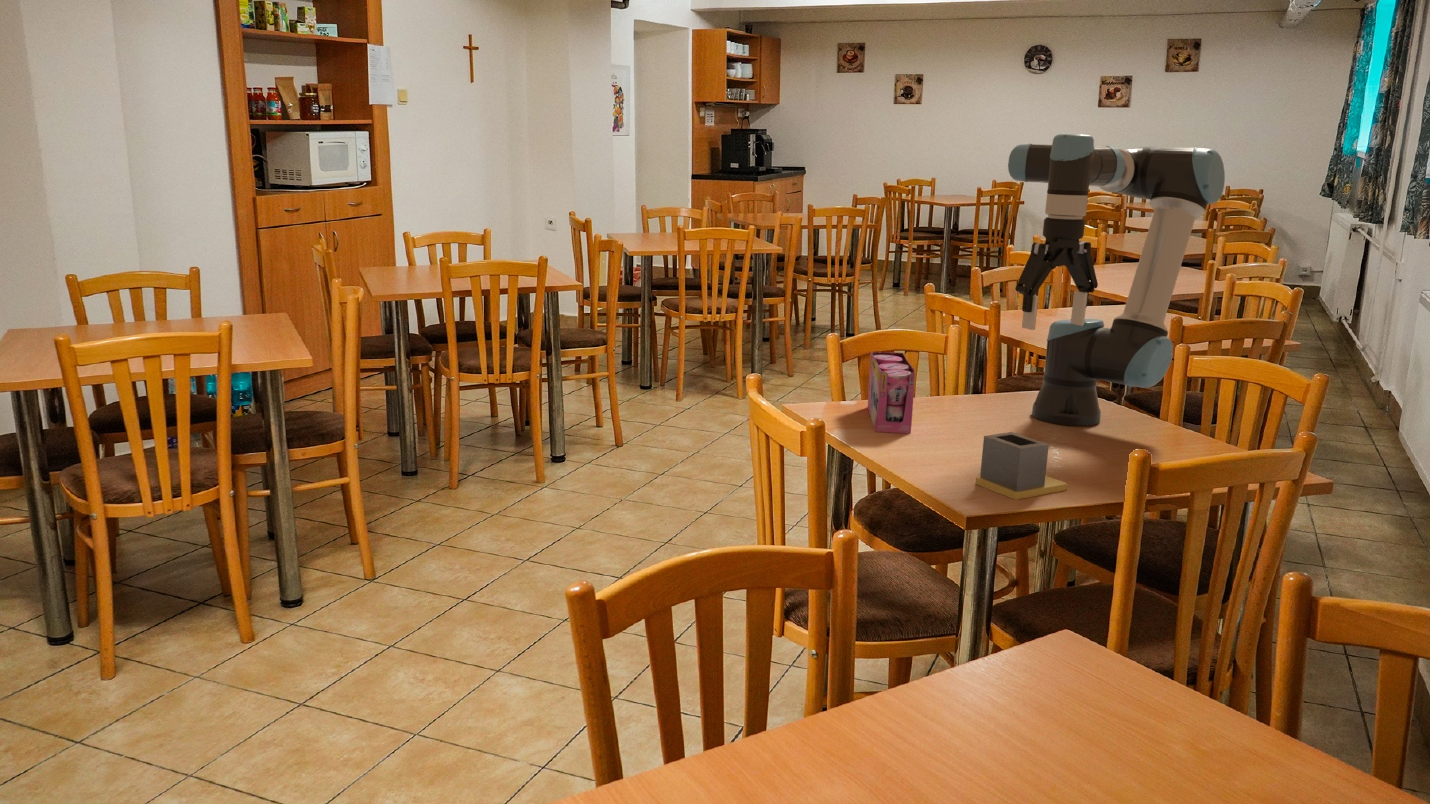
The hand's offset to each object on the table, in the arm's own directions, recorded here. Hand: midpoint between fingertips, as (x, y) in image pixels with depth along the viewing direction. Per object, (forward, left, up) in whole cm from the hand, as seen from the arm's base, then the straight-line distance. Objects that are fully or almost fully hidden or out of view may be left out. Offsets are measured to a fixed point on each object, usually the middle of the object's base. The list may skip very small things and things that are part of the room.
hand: (1053, 326), depth 208 cm
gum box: (+10, -36, -27) cm, 46 cm away
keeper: (+19, +13, -27) cm, 35 cm away
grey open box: (+21, +13, -25) cm, 35 cm away
